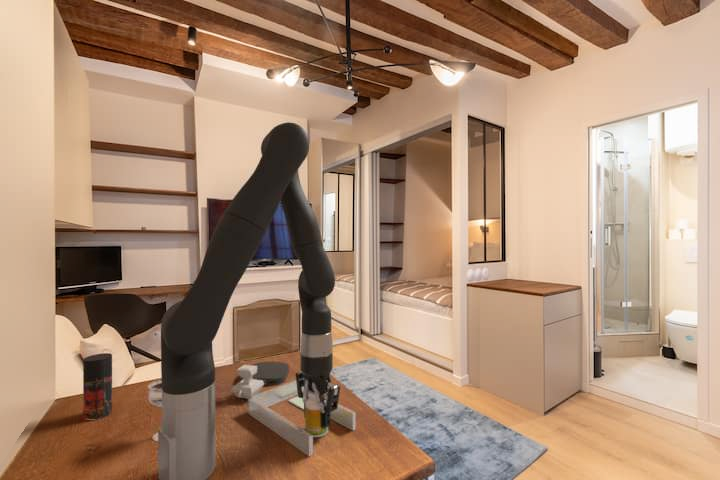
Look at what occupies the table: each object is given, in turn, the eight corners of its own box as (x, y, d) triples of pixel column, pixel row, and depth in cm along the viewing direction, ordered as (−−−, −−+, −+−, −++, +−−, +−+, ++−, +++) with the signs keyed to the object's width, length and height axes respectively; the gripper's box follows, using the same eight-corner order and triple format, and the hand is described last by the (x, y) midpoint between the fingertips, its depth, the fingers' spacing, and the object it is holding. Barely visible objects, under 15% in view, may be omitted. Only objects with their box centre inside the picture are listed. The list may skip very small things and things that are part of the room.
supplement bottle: (324, 439, 76) (324, 396, 76) (301, 436, 77) (301, 394, 77) (331, 426, 81) (331, 386, 81) (310, 424, 82) (309, 384, 82)
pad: (308, 412, 88) (308, 411, 88) (288, 401, 94) (288, 400, 94) (328, 403, 93) (328, 401, 93) (308, 393, 99) (308, 391, 99)
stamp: (249, 404, 92) (249, 374, 92) (228, 401, 94) (228, 371, 94) (266, 390, 101) (266, 362, 101) (247, 388, 103) (247, 360, 103)
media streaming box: (290, 368, 119) (290, 360, 119) (283, 386, 105) (283, 376, 105) (248, 369, 118) (248, 361, 118) (236, 387, 104) (236, 378, 104)
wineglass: (151, 429, 80) (151, 379, 80) (183, 424, 82) (183, 375, 82) (144, 446, 74) (144, 391, 74) (179, 439, 76) (179, 386, 76)
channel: (309, 456, 70) (309, 437, 70) (247, 413, 88) (247, 397, 88) (366, 422, 83) (366, 406, 83) (303, 390, 101) (303, 377, 101)
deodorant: (78, 417, 86) (78, 358, 86) (104, 407, 91) (104, 351, 91) (90, 422, 83) (90, 362, 83) (116, 412, 88) (116, 355, 89)
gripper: (285, 347, 81) (286, 417, 81) (324, 362, 71) (324, 441, 71) (310, 340, 87) (310, 406, 87) (349, 353, 77) (349, 427, 77)
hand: (316, 421), depth 79 cm, fingers closed on supplement bottle, 5 cm apart
